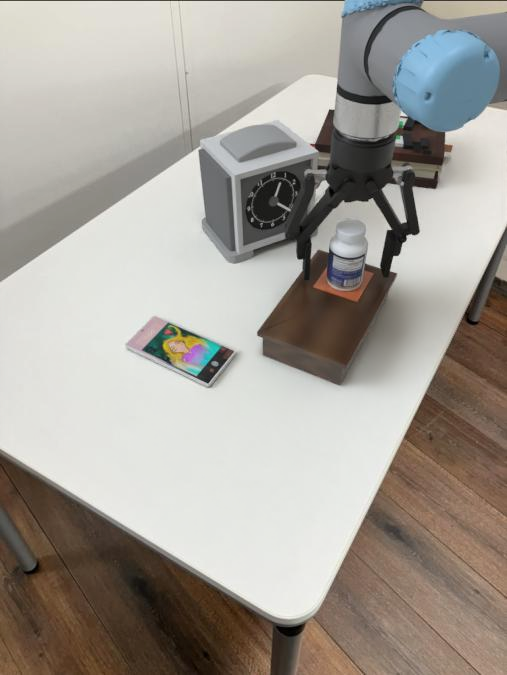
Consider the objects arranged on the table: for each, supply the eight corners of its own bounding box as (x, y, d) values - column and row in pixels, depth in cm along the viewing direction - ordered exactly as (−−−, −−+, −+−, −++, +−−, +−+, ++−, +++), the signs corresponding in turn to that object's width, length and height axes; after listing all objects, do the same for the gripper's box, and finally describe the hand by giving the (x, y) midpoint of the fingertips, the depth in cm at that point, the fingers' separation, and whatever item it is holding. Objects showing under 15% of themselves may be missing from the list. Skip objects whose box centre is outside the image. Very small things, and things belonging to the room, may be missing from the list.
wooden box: (391, 297, 82) (397, 272, 78) (342, 389, 69) (347, 364, 66) (316, 273, 86) (318, 248, 82) (257, 355, 74) (256, 330, 70)
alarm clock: (230, 264, 88) (223, 166, 75) (200, 226, 96) (188, 131, 83) (320, 234, 94) (328, 137, 80) (284, 199, 102) (286, 107, 88)
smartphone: (208, 385, 69) (123, 345, 75) (209, 388, 70) (124, 348, 75) (236, 351, 74) (154, 315, 79) (236, 354, 74) (154, 318, 79)
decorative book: (320, 102, 115) (458, 114, 109) (317, 134, 121) (449, 148, 115) (302, 141, 102) (458, 157, 96) (300, 175, 108) (447, 193, 102)
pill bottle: (333, 265, 79) (339, 211, 72) (366, 274, 78) (376, 220, 70) (320, 286, 76) (325, 231, 69) (355, 296, 74) (364, 241, 67)
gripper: (455, 111, 62) (417, 254, 78) (264, 117, 62) (265, 259, 78) (474, 139, 57) (430, 287, 73) (266, 146, 57) (267, 292, 73)
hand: (344, 273), depth 76 cm, fingers open, 11 cm apart
